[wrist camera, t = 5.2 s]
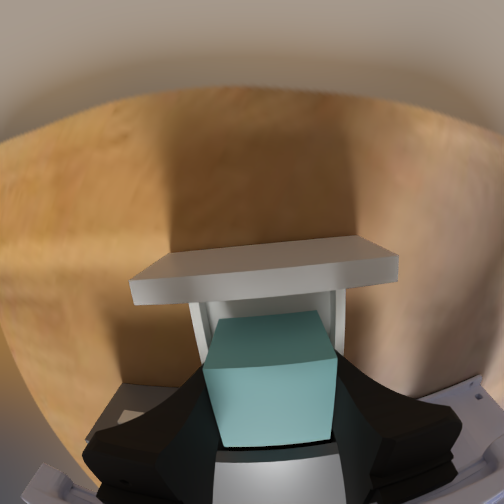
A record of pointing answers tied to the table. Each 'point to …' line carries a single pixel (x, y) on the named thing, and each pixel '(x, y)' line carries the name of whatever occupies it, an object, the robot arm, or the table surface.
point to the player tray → (266, 281)
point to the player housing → (246, 460)
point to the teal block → (271, 379)
